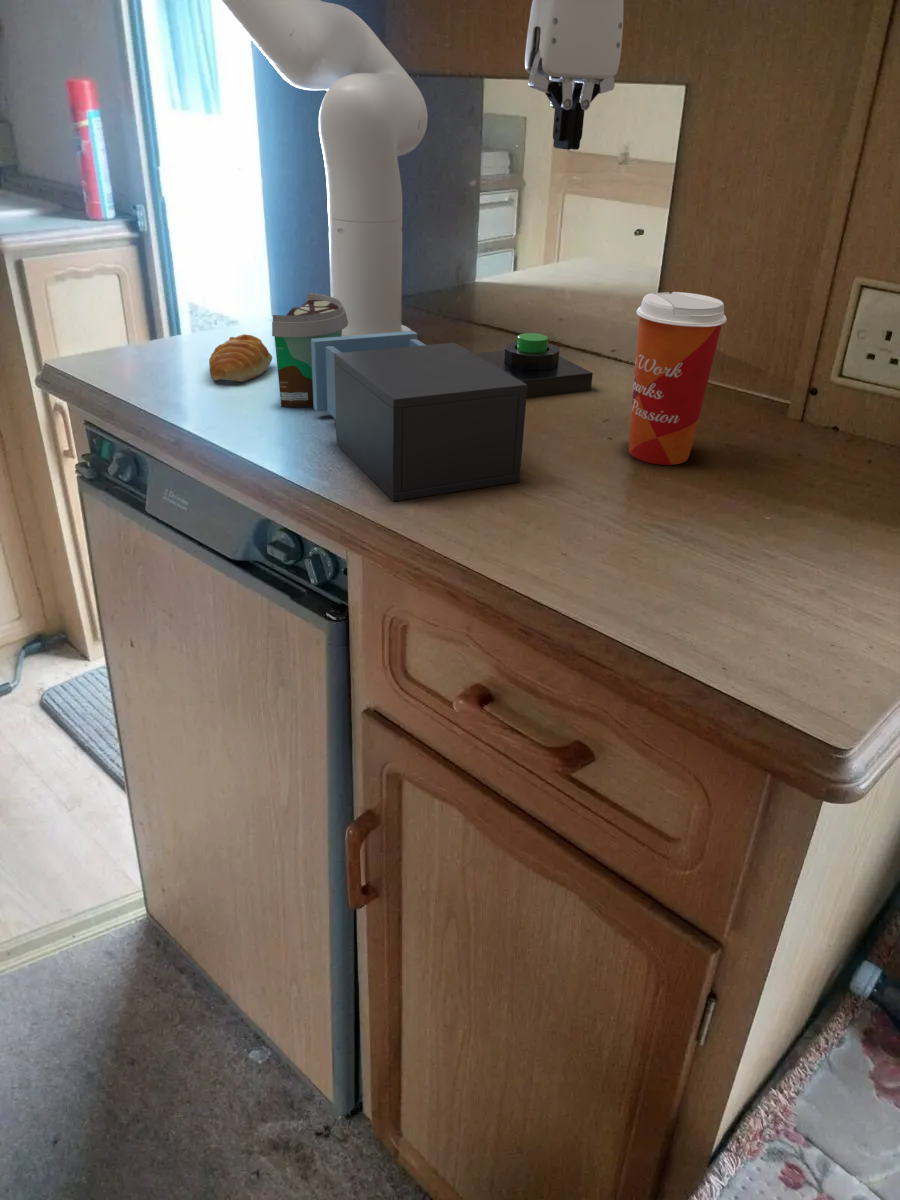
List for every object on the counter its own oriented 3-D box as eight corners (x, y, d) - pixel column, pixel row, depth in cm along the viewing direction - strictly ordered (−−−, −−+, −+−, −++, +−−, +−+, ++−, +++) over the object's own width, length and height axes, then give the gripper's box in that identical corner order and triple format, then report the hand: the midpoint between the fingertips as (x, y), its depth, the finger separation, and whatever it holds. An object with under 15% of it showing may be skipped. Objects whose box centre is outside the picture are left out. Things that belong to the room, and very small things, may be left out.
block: (470, 370, 114) (472, 338, 112) (539, 364, 118) (542, 332, 116) (517, 399, 105) (520, 365, 103) (590, 391, 109) (594, 357, 107)
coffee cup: (601, 444, 93) (621, 292, 86) (668, 435, 96) (693, 288, 88) (648, 474, 86) (673, 312, 79) (718, 464, 89) (749, 307, 82)
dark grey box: (336, 444, 90) (334, 353, 86) (451, 430, 95) (454, 342, 90) (393, 501, 79) (393, 399, 74) (519, 481, 84) (527, 384, 79)
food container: (331, 416, 97) (329, 320, 92) (276, 410, 98) (270, 316, 93) (361, 383, 108) (360, 296, 103) (311, 378, 109) (308, 291, 104)
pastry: (253, 387, 105) (251, 354, 103) (196, 384, 105) (192, 351, 103) (275, 365, 113) (273, 334, 111) (221, 362, 113) (218, 331, 111)
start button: (511, 348, 110) (512, 334, 109) (537, 346, 112) (538, 331, 111) (526, 356, 107) (527, 341, 107) (552, 353, 109) (553, 339, 108)
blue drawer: (297, 392, 101) (294, 326, 97) (393, 383, 105) (393, 318, 102) (358, 451, 86) (357, 375, 83) (466, 437, 91) (469, 364, 87)
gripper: (621, -36, 102) (601, 146, 111) (504, -48, 96) (494, 145, 106) (662, -41, 96) (638, 151, 106) (540, -54, 91) (526, 151, 100)
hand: (566, 148), depth 106 cm, fingers closed
